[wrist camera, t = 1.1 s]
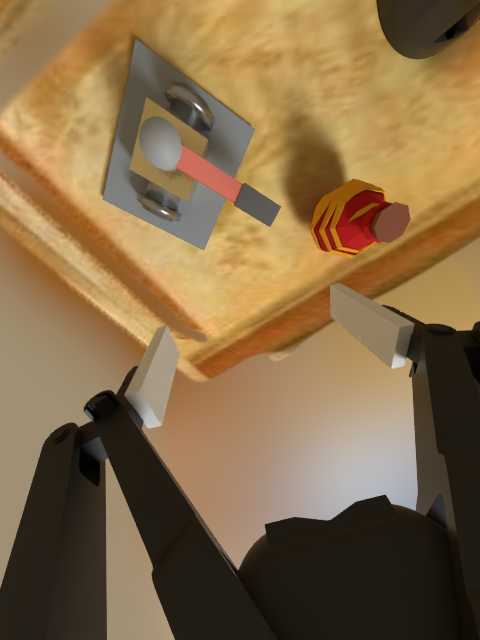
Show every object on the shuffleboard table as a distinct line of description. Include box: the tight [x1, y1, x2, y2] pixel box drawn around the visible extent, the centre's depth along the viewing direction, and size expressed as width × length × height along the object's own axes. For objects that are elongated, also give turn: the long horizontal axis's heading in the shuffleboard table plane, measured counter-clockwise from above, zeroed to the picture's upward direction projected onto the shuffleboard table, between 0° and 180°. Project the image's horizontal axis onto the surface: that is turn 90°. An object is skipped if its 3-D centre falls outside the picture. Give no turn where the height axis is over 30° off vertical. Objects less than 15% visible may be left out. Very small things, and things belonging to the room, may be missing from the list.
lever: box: [139, 116, 281, 226], centre depth 23 cm, size 16×4×2 cm, turn 63°
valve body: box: [129, 80, 215, 222], centre depth 26 cm, size 14×7×8 cm, turn 153°
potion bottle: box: [310, 179, 410, 258], centre depth 29 cm, size 10×10×15 cm
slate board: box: [103, 39, 255, 250], centre depth 29 cm, size 18×16×1 cm
